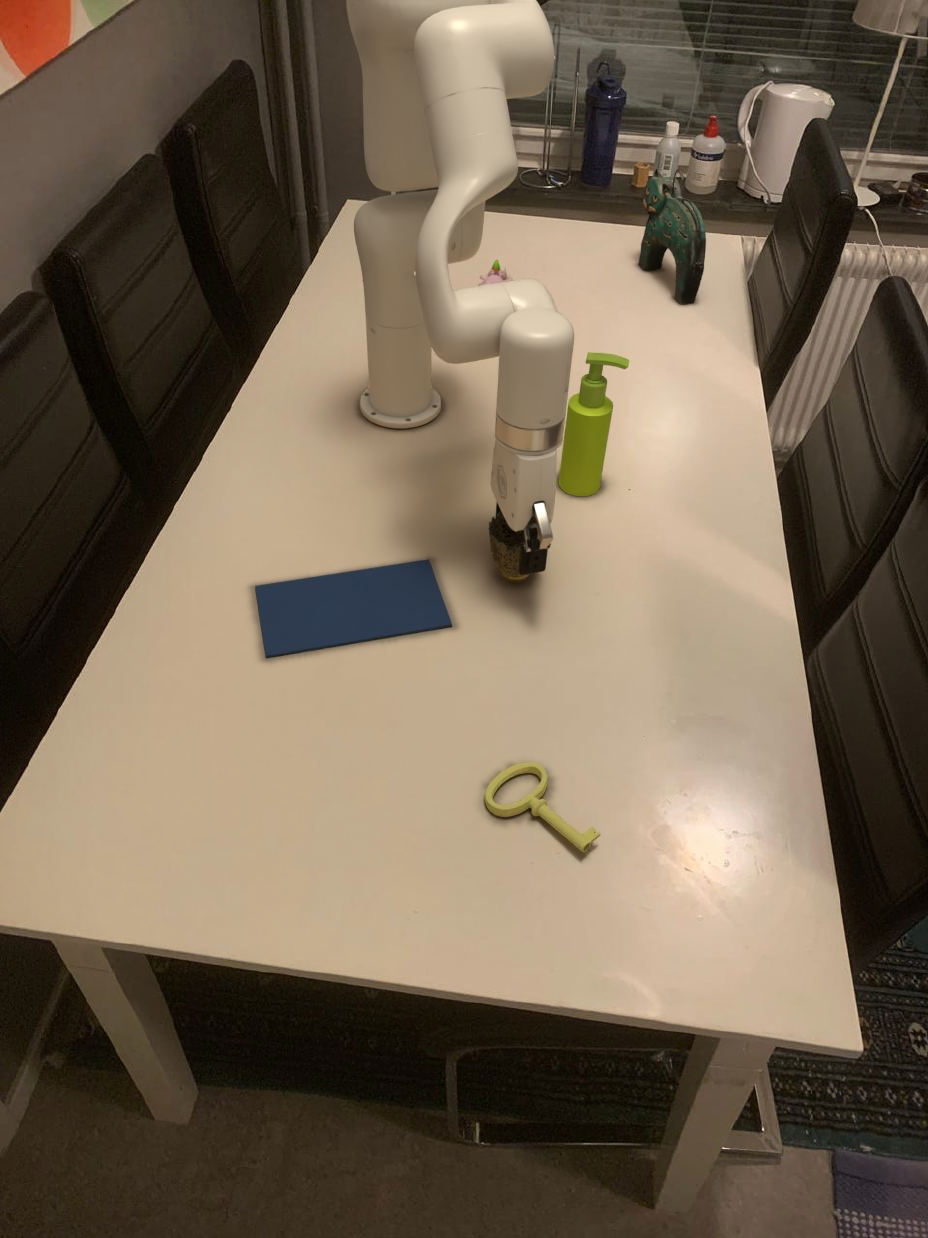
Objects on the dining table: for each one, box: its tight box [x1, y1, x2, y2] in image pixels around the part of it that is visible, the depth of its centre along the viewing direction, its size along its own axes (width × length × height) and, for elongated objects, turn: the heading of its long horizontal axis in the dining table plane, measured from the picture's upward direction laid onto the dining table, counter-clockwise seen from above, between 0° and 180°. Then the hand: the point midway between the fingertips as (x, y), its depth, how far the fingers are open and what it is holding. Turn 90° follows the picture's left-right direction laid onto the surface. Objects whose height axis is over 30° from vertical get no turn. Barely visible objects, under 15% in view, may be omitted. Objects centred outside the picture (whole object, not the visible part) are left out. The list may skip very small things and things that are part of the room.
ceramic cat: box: [638, 168, 707, 305], centre depth 168 cm, size 20×6×20 cm, turn 17°
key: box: [483, 761, 602, 853], centre depth 91 cm, size 7×12×2 cm, turn 60°
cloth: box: [254, 558, 453, 659], centre depth 111 cm, size 12×22×1 cm, turn 105°
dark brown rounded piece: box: [488, 512, 538, 584], centre depth 113 cm, size 8×7×8 cm
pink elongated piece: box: [479, 259, 514, 286], centre depth 168 cm, size 6×6×15 cm
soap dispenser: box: [558, 351, 630, 497], centre depth 122 cm, size 6×7×20 cm
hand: (519, 546), depth 112 cm, fingers open, 9 cm apart
